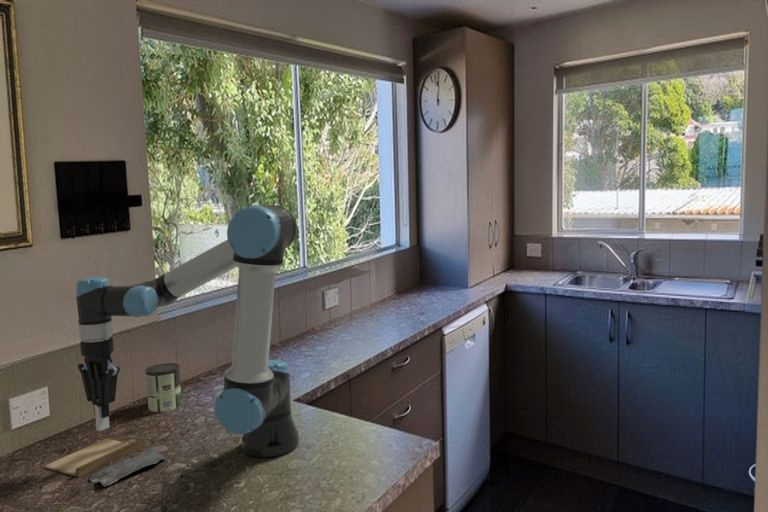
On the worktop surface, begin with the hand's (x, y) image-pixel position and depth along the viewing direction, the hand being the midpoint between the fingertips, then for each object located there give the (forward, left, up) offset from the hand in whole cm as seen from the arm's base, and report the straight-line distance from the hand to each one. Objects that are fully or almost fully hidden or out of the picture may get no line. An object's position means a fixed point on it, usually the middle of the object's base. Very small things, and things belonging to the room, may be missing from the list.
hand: (103, 428), depth 147 cm
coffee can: (+14, -33, -9) cm, 37 cm away
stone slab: (-5, 0, -8) cm, 10 cm away
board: (+5, 0, -9) cm, 10 cm away
